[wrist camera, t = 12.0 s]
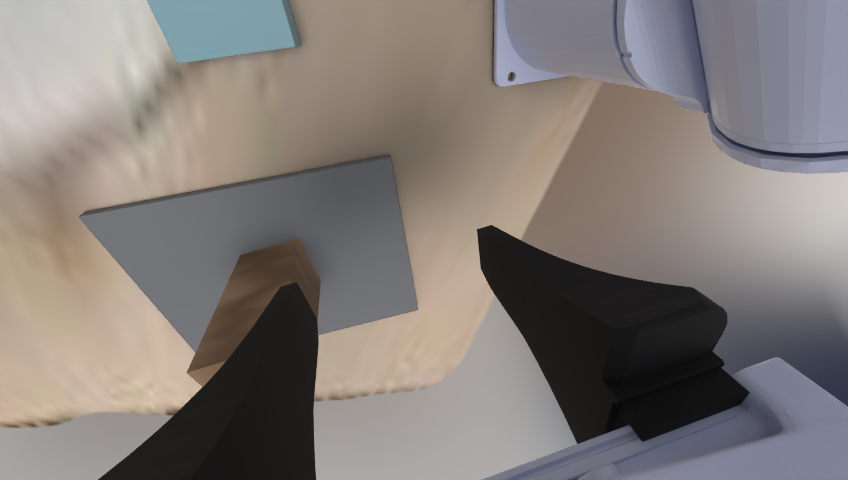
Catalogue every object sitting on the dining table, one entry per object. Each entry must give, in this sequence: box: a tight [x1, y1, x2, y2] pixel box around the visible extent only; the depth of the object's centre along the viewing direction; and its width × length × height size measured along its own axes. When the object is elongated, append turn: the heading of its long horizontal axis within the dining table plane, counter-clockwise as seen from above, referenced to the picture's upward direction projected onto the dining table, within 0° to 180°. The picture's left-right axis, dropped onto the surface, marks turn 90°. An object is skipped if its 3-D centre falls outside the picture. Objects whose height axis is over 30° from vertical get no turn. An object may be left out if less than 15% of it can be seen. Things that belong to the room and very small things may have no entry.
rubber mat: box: [79, 155, 418, 352], centre depth 23 cm, size 18×14×1 cm
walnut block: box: [187, 239, 321, 387], centre depth 19 cm, size 4×4×9 cm
